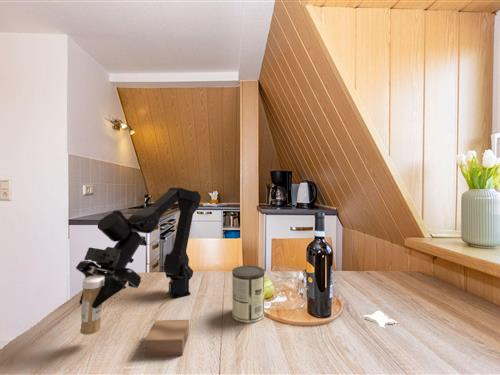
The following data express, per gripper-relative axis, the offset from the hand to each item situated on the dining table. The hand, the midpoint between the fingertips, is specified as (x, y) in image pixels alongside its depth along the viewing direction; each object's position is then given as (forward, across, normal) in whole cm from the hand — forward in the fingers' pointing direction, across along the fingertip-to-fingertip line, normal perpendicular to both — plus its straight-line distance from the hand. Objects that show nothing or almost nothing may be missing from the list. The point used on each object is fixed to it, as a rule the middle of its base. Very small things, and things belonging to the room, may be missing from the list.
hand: (86, 305), depth 64 cm
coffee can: (-14, +30, +31) cm, 45 cm away
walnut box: (+1, +17, +14) cm, 22 cm away
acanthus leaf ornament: (-23, +68, +40) cm, 82 cm away
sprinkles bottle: (+4, -1, +6) cm, 7 cm away
